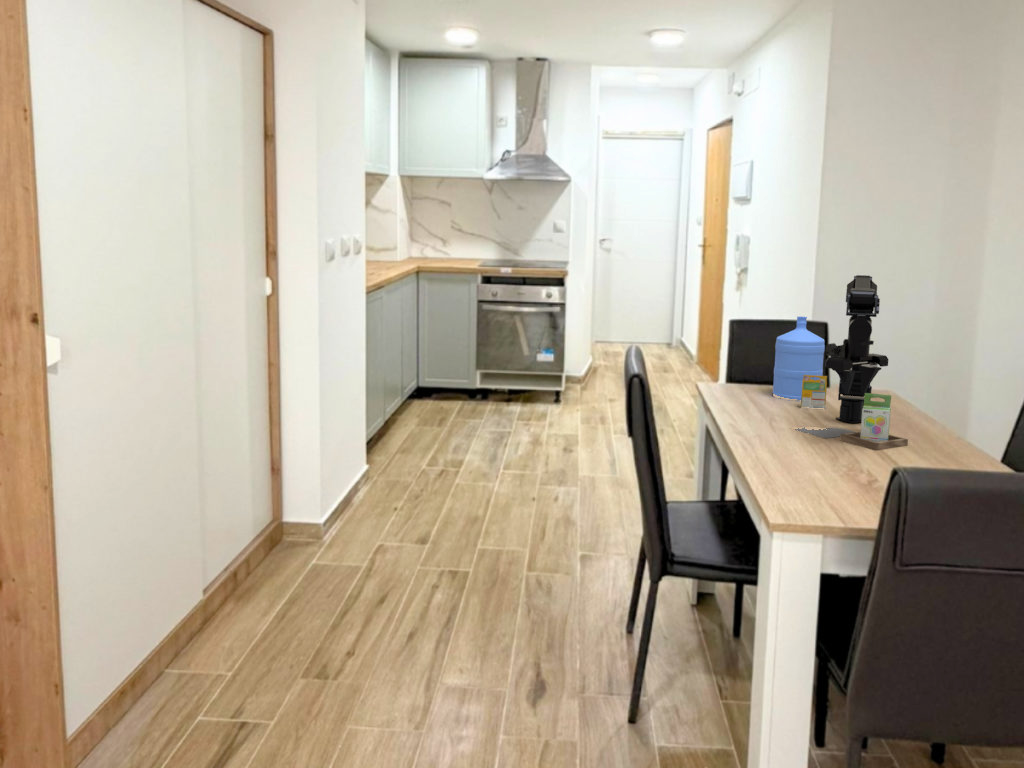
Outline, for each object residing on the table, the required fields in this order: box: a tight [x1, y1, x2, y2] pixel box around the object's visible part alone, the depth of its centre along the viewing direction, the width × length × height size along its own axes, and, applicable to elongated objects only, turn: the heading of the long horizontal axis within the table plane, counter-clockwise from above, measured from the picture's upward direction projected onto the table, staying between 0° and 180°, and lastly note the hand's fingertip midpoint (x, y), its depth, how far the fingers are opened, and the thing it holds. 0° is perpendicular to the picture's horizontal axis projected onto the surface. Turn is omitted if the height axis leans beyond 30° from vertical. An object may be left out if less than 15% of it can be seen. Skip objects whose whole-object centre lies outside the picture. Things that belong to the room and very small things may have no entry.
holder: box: [839, 431, 909, 451], centre depth 256 cm, size 12×12×2 cm
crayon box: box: [800, 375, 828, 410], centre depth 300 cm, size 7×3×12 cm, turn 76°
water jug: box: [771, 316, 826, 400], centre depth 317 cm, size 16×16×28 cm
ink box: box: [860, 392, 892, 442], centre depth 255 cm, size 7×4×13 cm, turn 66°
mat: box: [794, 427, 856, 440], centre depth 269 cm, size 14×14×1 cm
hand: (854, 393), depth 260 cm, fingers open, 6 cm apart
